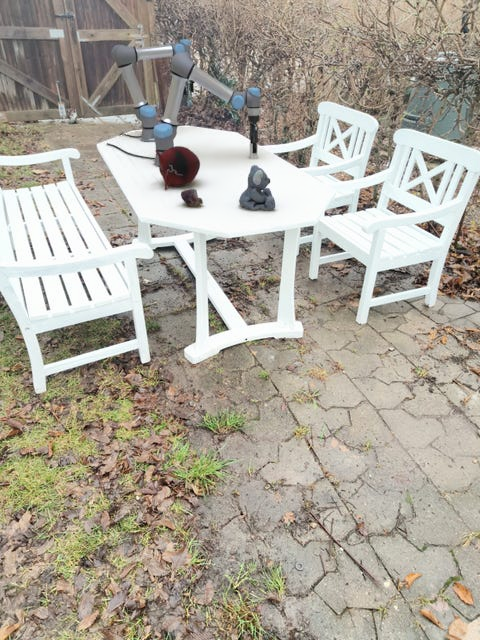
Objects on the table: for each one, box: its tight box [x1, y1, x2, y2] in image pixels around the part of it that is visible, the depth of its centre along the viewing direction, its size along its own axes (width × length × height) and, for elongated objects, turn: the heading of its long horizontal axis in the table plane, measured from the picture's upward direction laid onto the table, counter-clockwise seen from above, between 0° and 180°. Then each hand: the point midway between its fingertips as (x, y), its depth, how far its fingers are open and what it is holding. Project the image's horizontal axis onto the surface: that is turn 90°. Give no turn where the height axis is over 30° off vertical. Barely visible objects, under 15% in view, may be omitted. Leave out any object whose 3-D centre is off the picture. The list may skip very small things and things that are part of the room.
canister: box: [249, 143, 259, 160], centre depth 303 cm, size 5×5×9 cm
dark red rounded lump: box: [155, 145, 201, 191], centre depth 255 cm, size 21×24×25 cm
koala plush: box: [238, 164, 276, 211], centre depth 224 cm, size 17×18×20 cm
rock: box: [180, 188, 204, 207], centre depth 229 cm, size 12×9×10 cm
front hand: (253, 151), depth 303 cm, fingers open, 6 cm apart
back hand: (188, 93), depth 357 cm, fingers open, 13 cm apart
